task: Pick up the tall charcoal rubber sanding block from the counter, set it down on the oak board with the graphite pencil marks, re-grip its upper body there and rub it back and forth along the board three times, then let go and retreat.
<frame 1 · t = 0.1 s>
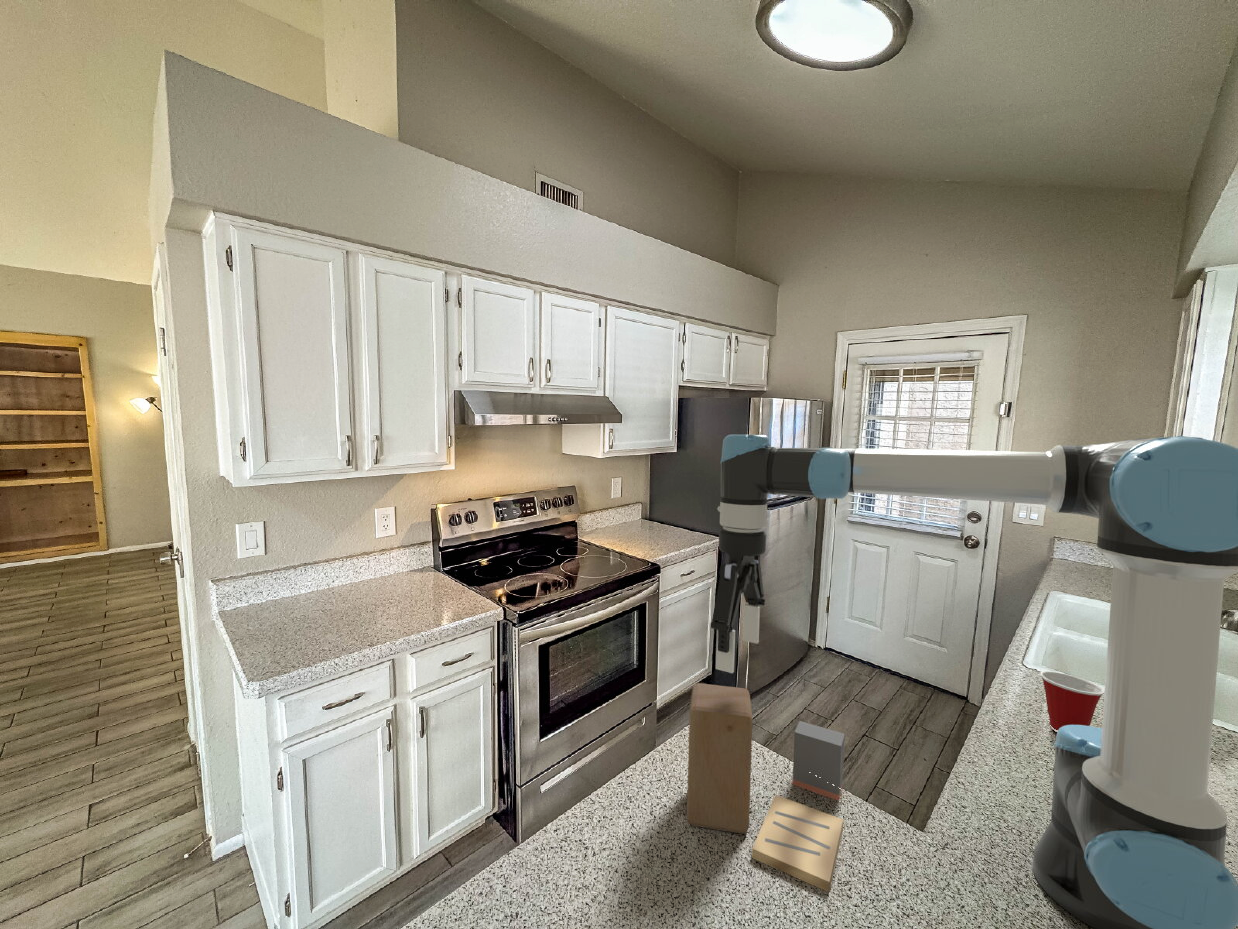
hand: (738, 655, 85), 28 cm above the countertop, fingers open, 13 cm apart
sanding block: (817, 785, 94), on the countertop
plastic cup: (1068, 733, 113), on the countertop
board: (799, 842, 81), on the countertop
wooden block: (717, 812, 87), on the countertop
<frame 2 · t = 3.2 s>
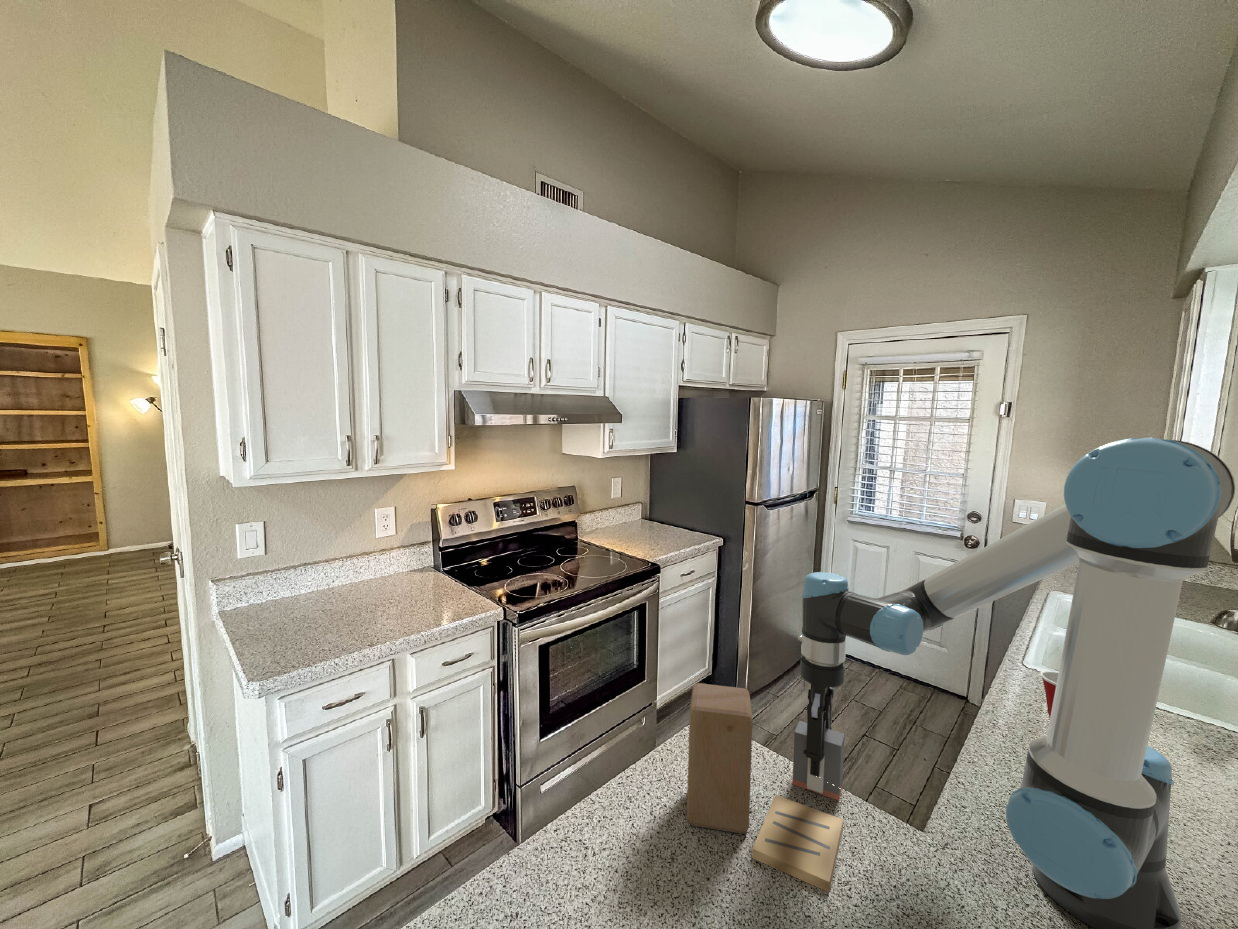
hand: (817, 781, 94), 1 cm above the countertop, fingers closed on sanding block, 4 cm apart
sanding block: (817, 785, 94), on the countertop, touching gripper
everything else where it was.
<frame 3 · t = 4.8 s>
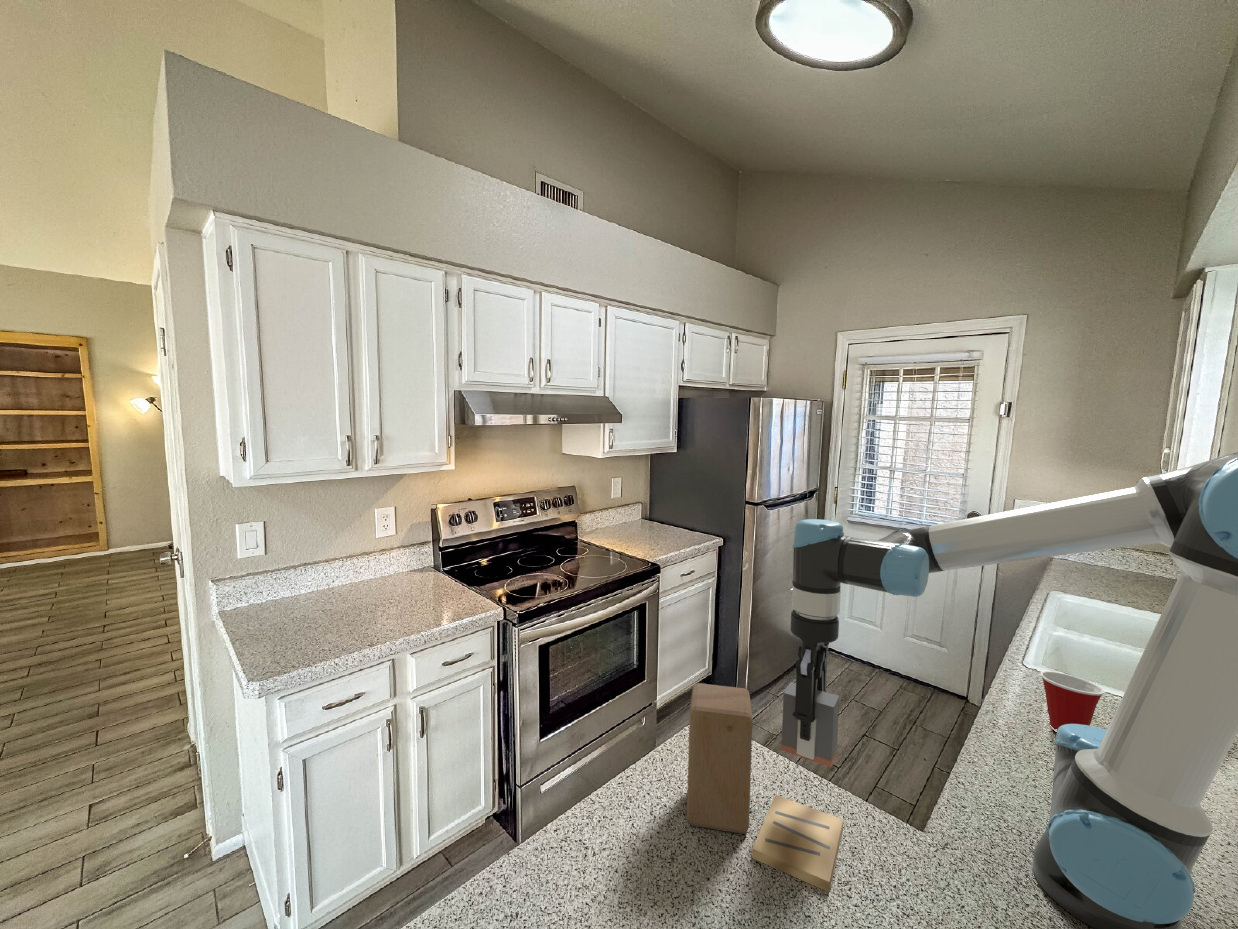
hand: (809, 747, 86), 12 cm above the countertop, fingers closed on sanding block, 4 cm apart
sanding block: (808, 751, 86), point 11 cm above the countertop, touching gripper
everything else where it was.
when the fingers open (3 cm above the countertop, at t = 6.4 s): sanding block stays where it is, resting on board.
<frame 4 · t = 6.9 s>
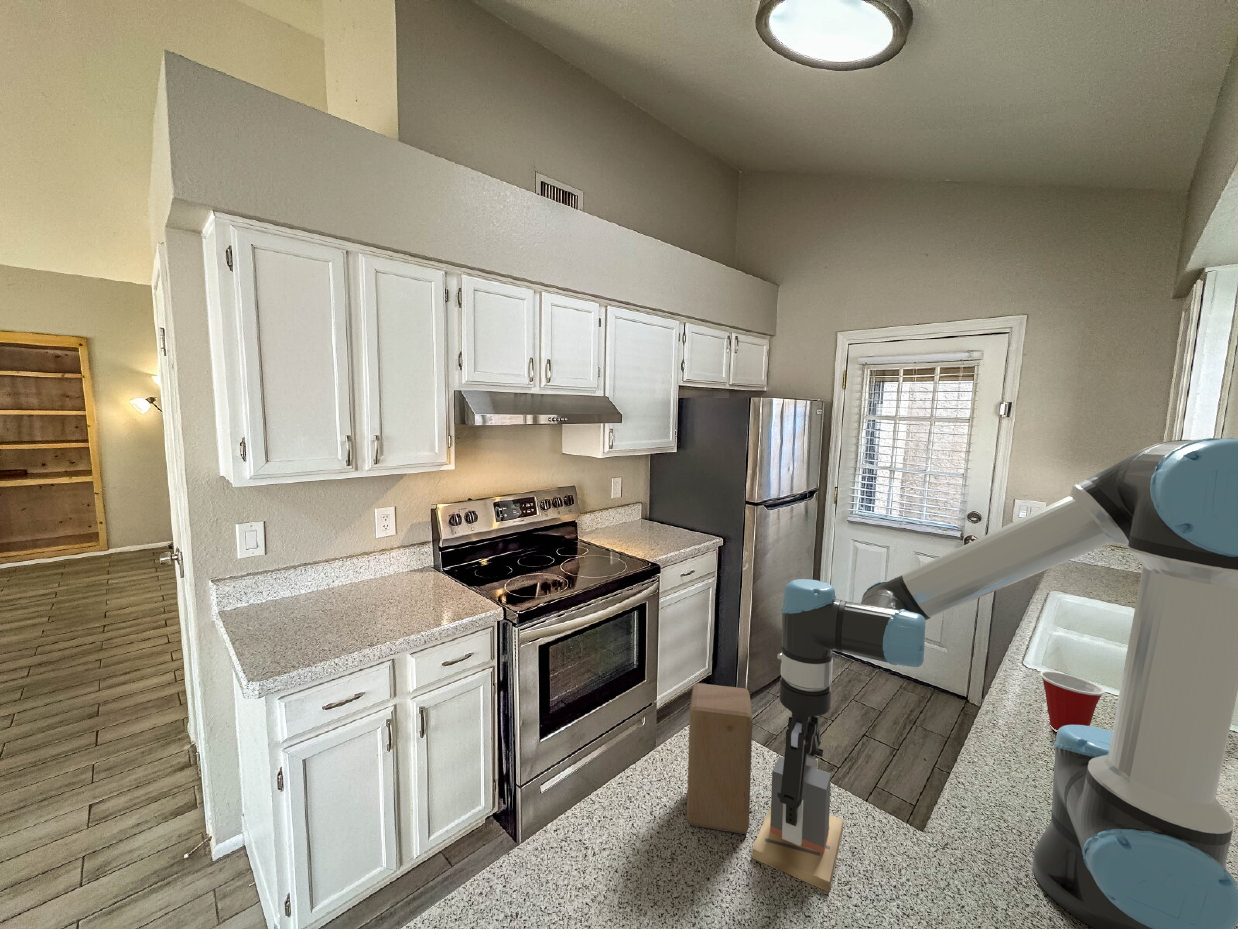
hand: (800, 816, 80), 4 cm above the countertop, fingers open, 11 cm apart
sanding block: (799, 833, 81), point 2 cm above the countertop, touching board
everything else where it was.
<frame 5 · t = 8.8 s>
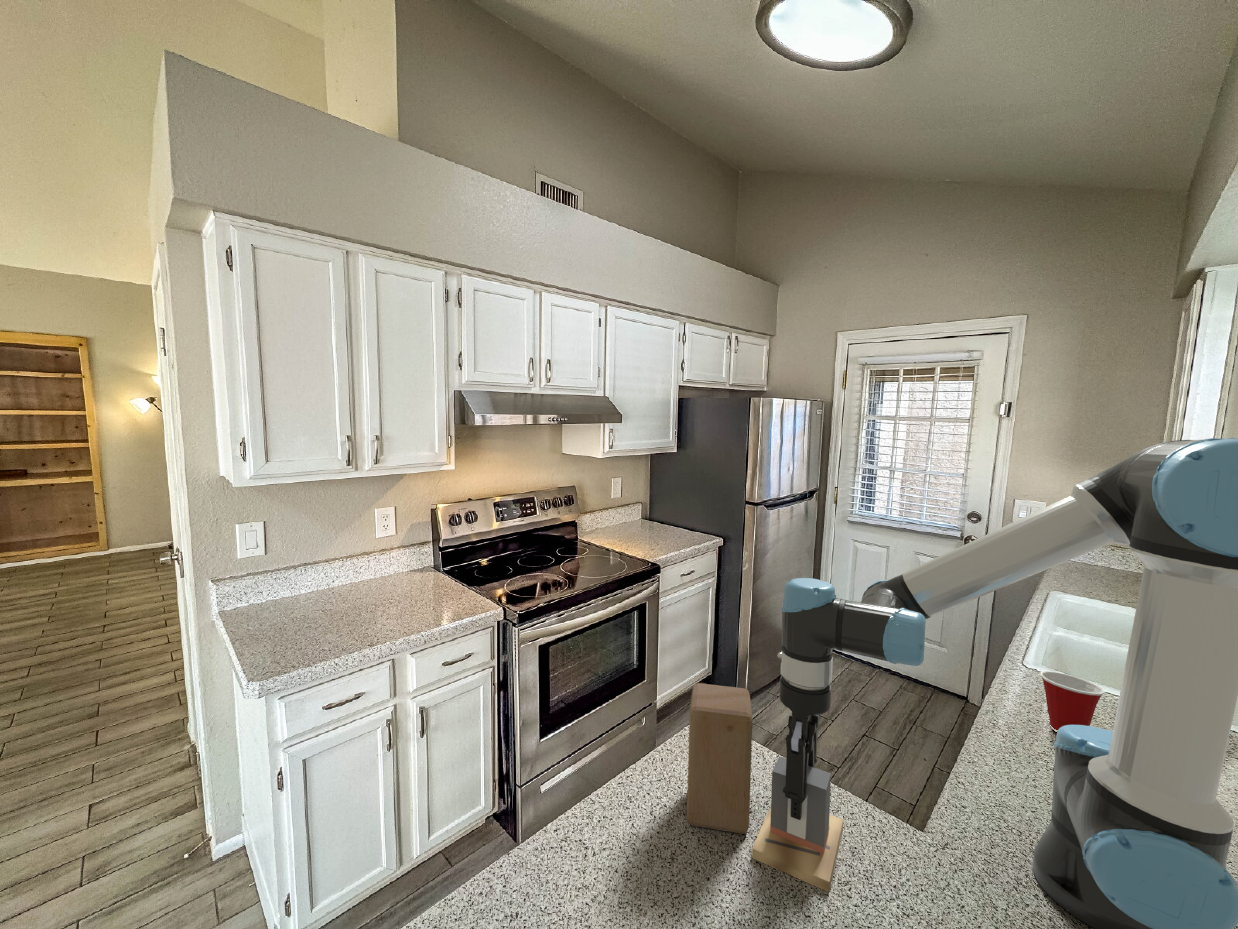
hand: (800, 823, 80), 3 cm above the countertop, fingers closed on sanding block, 4 cm apart
sanding block: (799, 833, 81), point 2 cm above the countertop, touching board, gripper
everything else where it was.
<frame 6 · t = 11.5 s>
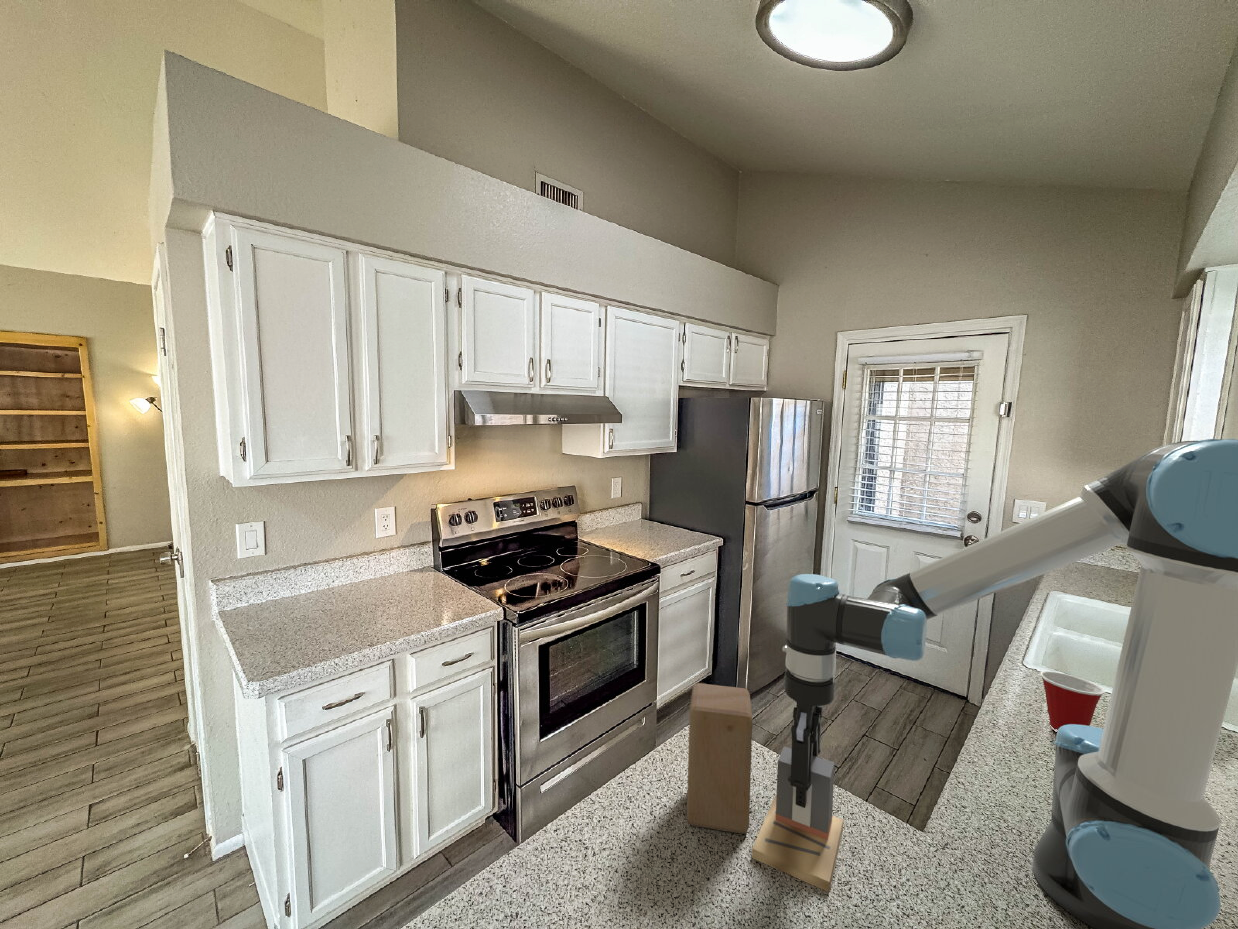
hand: (804, 811, 83), 3 cm above the countertop, fingers closed on sanding block, 4 cm apart
sanding block: (803, 820, 83), point 2 cm above the countertop, touching gripper
everything else where it was.
when the fingers open (3 cm above the countertop, at t = 14.4 s): sanding block stays where it is, resting on board.
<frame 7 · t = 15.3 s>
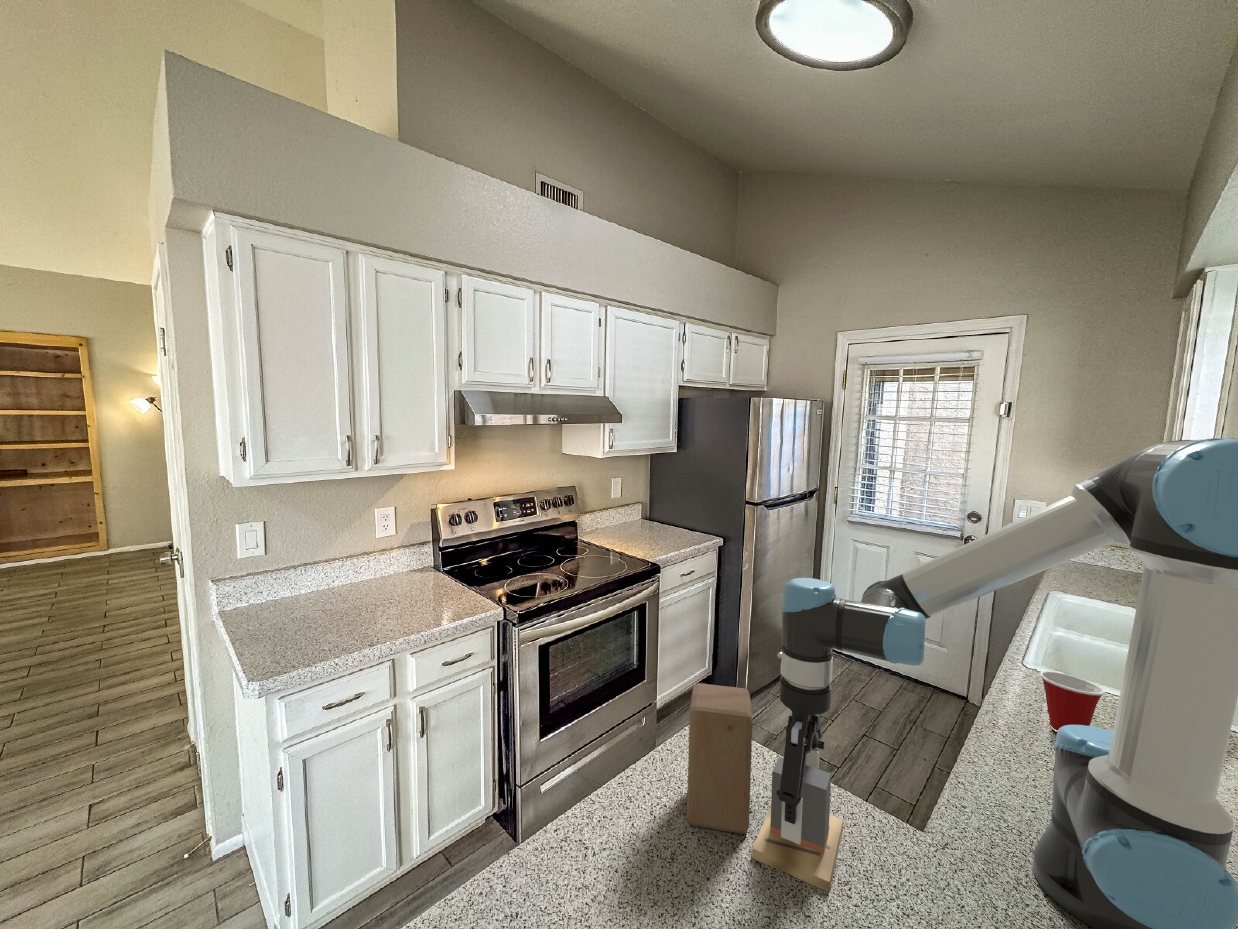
hand: (800, 811, 80), 5 cm above the countertop, fingers open, 13 cm apart
sanding block: (799, 833, 80), point 2 cm above the countertop, touching board
everything else where it was.
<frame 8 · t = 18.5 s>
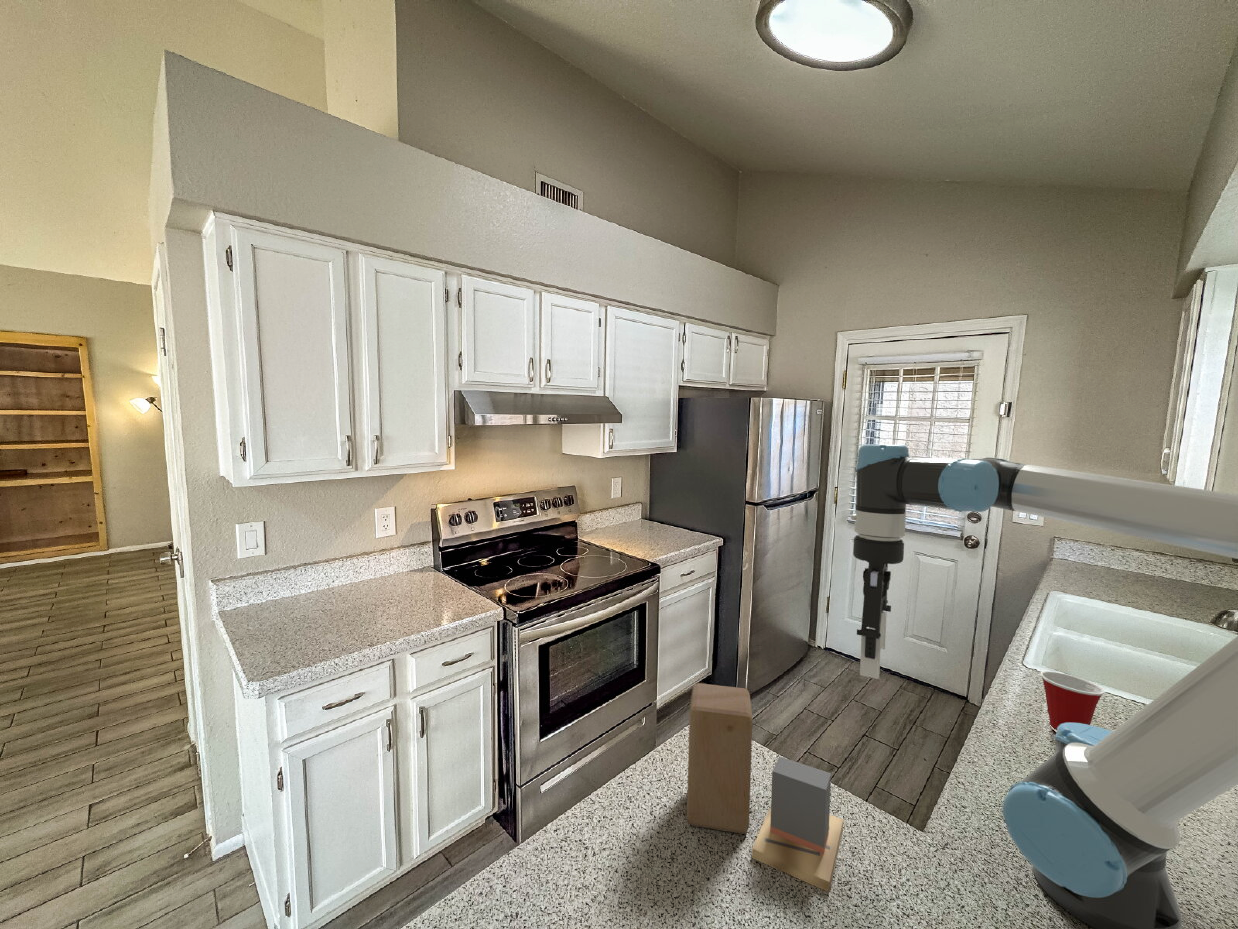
hand: (873, 661, 86), 27 cm above the countertop, fingers open, 13 cm apart
nothing on the countertop moved.
at the end: sanding block inside the target area on the board (0.0 cm from its centre), point 1.5 cm above the board's base; sanding block tilted 0°; sanding block moved 16.1 cm from its start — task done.
